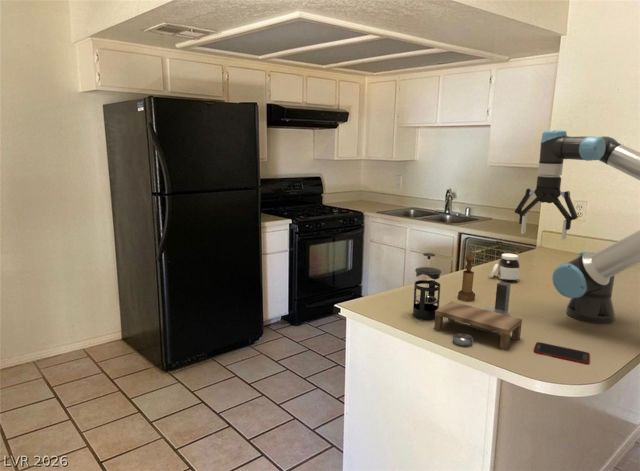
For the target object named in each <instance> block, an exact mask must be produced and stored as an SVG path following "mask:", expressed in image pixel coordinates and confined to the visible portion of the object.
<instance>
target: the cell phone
mask: <svg viewBox="0 0 640 471" xmlns="http://www.w3.org/2000/svg"><path fill="white" fill-rule="evenodd" d="M533 353H534V354H537V355H541V356H545V357H551V358H554V359H555V358H556V359H560V360H563V361H568V362H572V363H578V364H581V365H582V364H583V365H586V366H587V365H588V366H589V365H590V359H591V358H590V357H591V354H590V352H587V351H584V350H578V349H573V348H569V347H565V346H559V345H556V344H555V345H554V344H549V343H544V342H540V341H537V342H535V344H534V347H533Z"/></svg>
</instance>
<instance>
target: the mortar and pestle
mask: <svg viewBox="0 0 640 471" xmlns="http://www.w3.org/2000/svg"><path fill="white" fill-rule="evenodd" d="M464 259H465V261H466V263H467V264H466V265H465V269H466V270H463V271H462V272H463V274H462V284H461V290H459V291H458V292H457V298H458V300H460V301H463V302H474V301H475V300H476V293H475V292H474V290H473V287H474V286H473V285H474V273H475V272H474V271H472V268H473V265H472V263H473V261H474V256H473V254H466V256H465V258H464Z"/></svg>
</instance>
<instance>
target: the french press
mask: <svg viewBox="0 0 640 471" xmlns="http://www.w3.org/2000/svg"><path fill="white" fill-rule="evenodd" d="M422 255H423V256H425V257H427V262H428V263H427V267H426V266H422V267H421V266H420V267H417V268H415V272H416V275H415V276H416V277H419V276H421V275H424V276H425V275H426V277H427V278H426V280H425V279H421V280H416V281H414V286H413V287H414V289H413V291H414V292H413V305H412V306H413V308H412V313H411V316H412V317H413V318H414V319H417V320H420V321H424V322H425V321H426V322H429V321H430V322H432V321H435V310H437V309H439V308H440V296H441V284H440V283H439V282H437V281H436V280H439V279H440V276H441V274H442V270H440V269H439V268H435V267H431V266H430V260H431V257H436V254H434V253H432V252H424V253H422ZM429 278H430V279H429ZM421 284H422V285H424V284H426V287H424V286H420V285H421ZM418 290H419V291H420V294H419V295H417V291H418ZM435 292H437V297H436V296H435V295H436V293H435ZM416 302H417V303H416ZM436 304H437V305H436Z"/></svg>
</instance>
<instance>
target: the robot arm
mask: <svg viewBox="0 0 640 471" xmlns="http://www.w3.org/2000/svg"><path fill="white" fill-rule="evenodd" d="M539 145H540V147H539V148H540V150H539V161H538V169H537V175H538V176H537V180H536V188H535V189H533V188H531V187H529V188H526V190H525V194H524V196H523V197H522V199H521V201H520V202H519V203H518V205H517V207H516V209H515V210H514V213H515V214H518V215H519V221H518V222H519V225H521V226H520V227H521V230H520V235H521V234H522V235H524V234H525V233H527V231H526V230H527V221H528V220H527V219H528V215H527V213H528V212H529V211H530V210H531V209H533V207H535V206H536V205H537V204H538V203H547V204H552V203H553V204H554V205H555V207H556V208H557V209H558V211H559V212H560V213H561V215H562V216H563V217H564V220H563V223H562V230H561V231H562V232H561V237H560V238H561V240H566V239H567V231H568V230H569V231H570V229H571V225H572V221H573V220H577V219H579V216H578V212H576V208H575V205H574V204H573V201H572V199H571V192H570V191H569V190H567V191H561V185H562V178H561V176H562V175H563V169H564V168H563V167H564V160H573V161H575V160H578V161H580V160H581V161H587V162H589V161H599V162H602V163H604V164H606V165H608V166H610V167H612V168H614V169H616V170H618V171H620V172H622V173H624V174H626V175H628V176H631V177H633V178H634V179H637V180H638V181H640V151H637V150H636V149H632V148H630V147H629V146H626V145H624V144H622V143H619V142H618V141H617V139H615V138H614V137H610V136H594V135H590V136H568V135H567V131H566V130H560V129H559V130H558V129H557V130H555V129H554V130H552V129H551V130H547V129H546V130H544V131H543V132H542V135H541V139H540V144H539ZM533 194H534V195H535V196H536V197H535V198H533V200H532V201H531V202H530V203H529V204H528V205H527V206H526V207H525V205H526V204H527V202H528V200H529V199H530V198H531V196H533ZM561 196H562V198H563V199H564V202H565V204H566V206H567V208H568V211H567V209H566V208H565V206H564V205H563V204H562V202H561V200H560V199H559V198H560V197H561ZM639 264H640V229H639V230H637V231H635V232H634V233H631V234H629V235H628V236H625V237H624V238H622V239H620V240H618V241H616V242H615V243H612V244H611V245H608V246H607V247H605V248H602V250H601V249H600V250H599V251H597V252H590V251H580V252H579V254H578V256H577V257H575V258H574V259H572V260H570V261H568V262H565V263H560V264H559V265H558V266H557V267H555V269H554V271H553V272H552V278H551V280H552V284H553V286H554V289H555V290H556V291H557V293H559V294H560V295H561V296H563V297H566V298H568V299H569V301H568V303H567V305H566V310H565V312H566V314H567V315H568V316H569V317H571V318H573V319H575V320H579V321H582V322H587V323H591V324H593V323H594V324H610V323H613V322H614V321H615V315H616V314H615V309H614V305H613V300H612V296H613V289H614V284H615V283H614V282H615V276H616V275H618V274H621V273H622V272H624V271H626V270H629V269H630V268H633V267H635V266H637V265H639Z"/></svg>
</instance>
